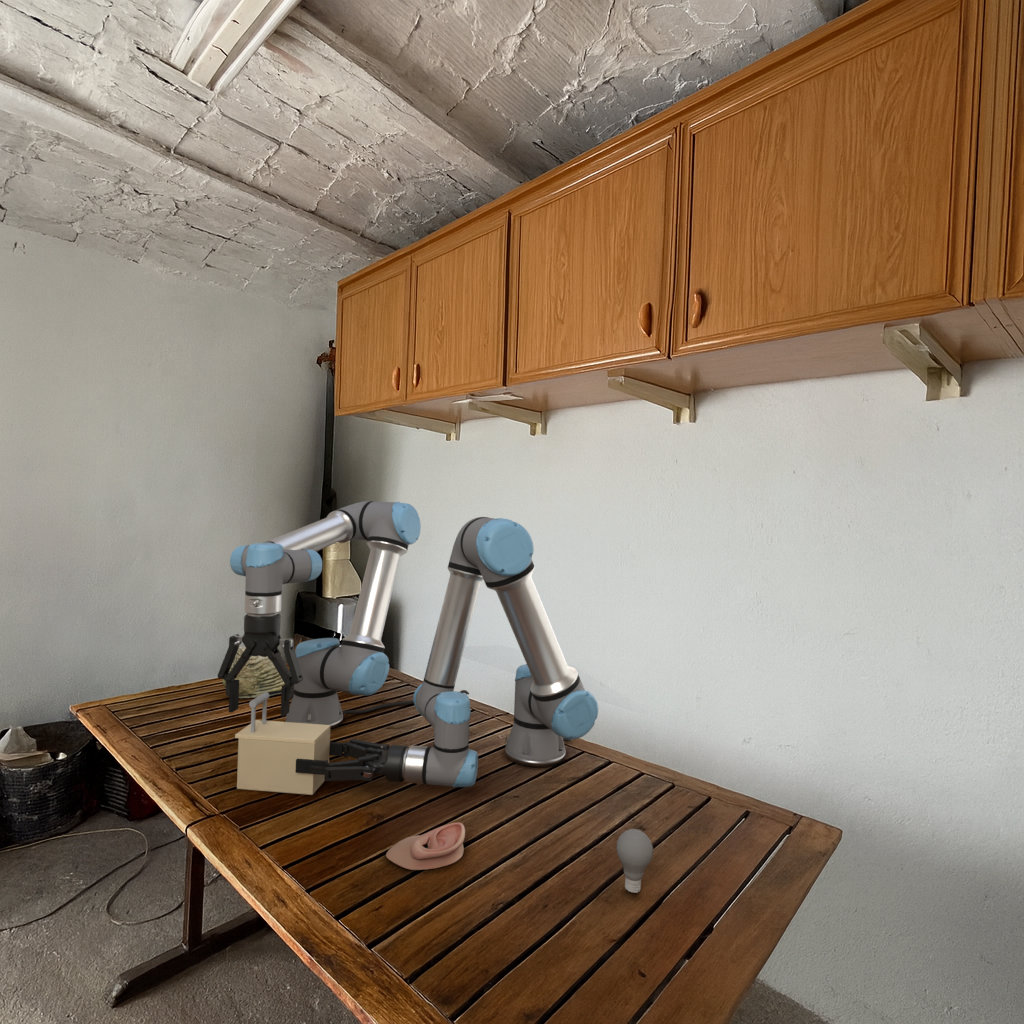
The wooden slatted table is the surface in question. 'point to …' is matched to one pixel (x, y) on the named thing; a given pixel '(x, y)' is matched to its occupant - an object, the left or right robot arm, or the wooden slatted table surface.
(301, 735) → the lid
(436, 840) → the anatomical model
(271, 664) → the fossil
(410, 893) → the wooden slatted table surface
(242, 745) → the chest
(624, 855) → the light bulb
